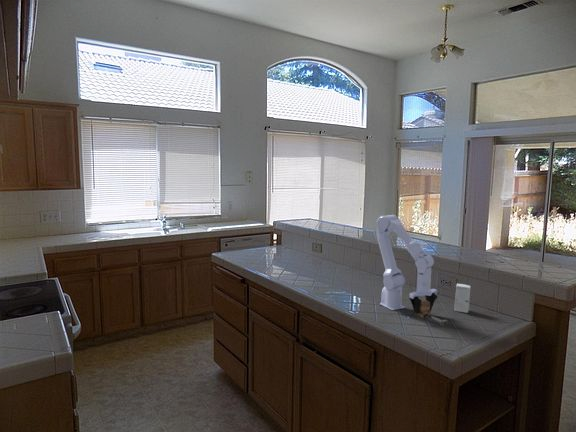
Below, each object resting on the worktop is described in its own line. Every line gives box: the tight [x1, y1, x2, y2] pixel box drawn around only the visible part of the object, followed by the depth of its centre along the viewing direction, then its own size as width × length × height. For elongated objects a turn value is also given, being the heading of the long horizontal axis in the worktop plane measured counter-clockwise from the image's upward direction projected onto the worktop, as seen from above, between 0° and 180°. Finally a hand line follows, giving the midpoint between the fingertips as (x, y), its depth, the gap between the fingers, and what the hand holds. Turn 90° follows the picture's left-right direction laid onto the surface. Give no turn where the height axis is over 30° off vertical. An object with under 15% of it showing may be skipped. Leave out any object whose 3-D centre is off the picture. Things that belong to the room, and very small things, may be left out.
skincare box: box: [453, 283, 472, 314], centre depth 179 cm, size 6×4×12 cm
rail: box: [413, 311, 448, 327], centre depth 169 cm, size 16×3×4 cm, turn 26°
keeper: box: [414, 299, 431, 319], centre depth 173 cm, size 4×5×6 cm
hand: (422, 311), depth 173 cm, fingers open, 7 cm apart
